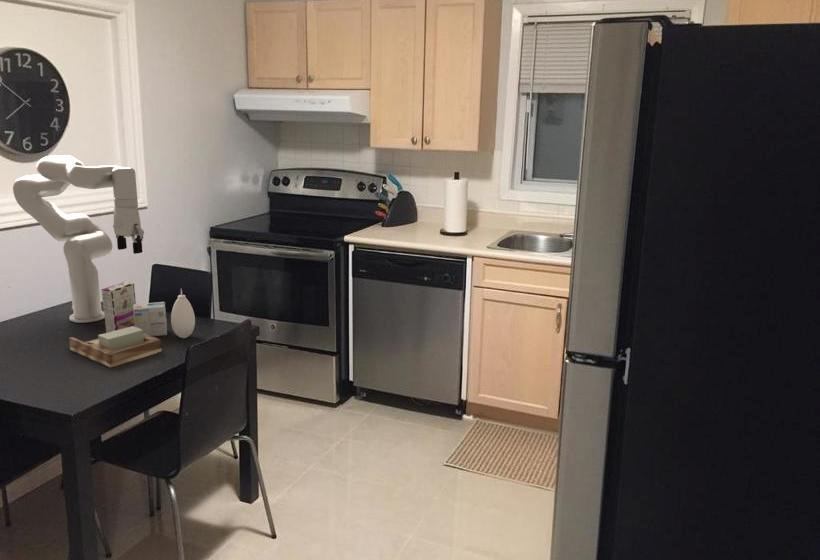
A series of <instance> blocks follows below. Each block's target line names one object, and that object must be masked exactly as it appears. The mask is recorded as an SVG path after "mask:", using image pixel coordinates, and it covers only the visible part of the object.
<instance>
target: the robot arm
mask: <svg viewBox="0 0 820 560" xmlns="http://www.w3.org/2000/svg"><path fill="white" fill-rule="evenodd" d="M36 170H37V172H38V174H31V175H24V176H22V177H19V178H17V179H16V180H15V181H14V183H13V186H12V191H13V192H12V193H13V195H14V196H13V197H14V198H15V201H16V203H17V204H18V205H19V206H20V207H21V210H22V209H23V211H24V212H26V213H27V214H28V215H29V216H31V217H32V218H33V219H34V220H35V221H36V222H37V223H38V224H39V225H40V226H41V227H42V228H43V229H44V230H45V232H47V233H48V234H49V235H50V236H51V237H52V238H53V239H55V240H56V241H57V242H64V244H63V253H64V257H65V260H66V263H67V267H68V274H69V282H70V284H69V285H70V292H71V301H72V302H71V303H72V305H71V309H72V310H73V313H72V314H70V315H69V316H68V317H69V321H70V322H73V323H79V324H80V323H81V324H86V323H94V322H98V321H101V320H105V316H104V310H102V302H101V292H100V281H99V271H98V268H97V267H96V265H95V264H94V263H93V261H92V260H95V259H99V258H102V257H105V256H107V255H109V254H110V253H111V252H112V250H113V242H112V240H111V238H110V236H109V235H108V233H106V232H105V230H103V228H101V227H100V226H99V224H97V222H95V221H94V220H93V219H92V217H90V216H88V215H87V214H85V213H80V212H76V213H70V214H69V213H67V214H66V213H64V212H63V211H61V209H59V208H58V207H57V206H56V205H55V204H54V203H52V202H50V201H49V200H46V199H44V198H47V197H55V196H59V195H61V194H62V193H63V192H65V191H66V190H67V188H68V187H69V186H70V185H72V186H73V187H76V188H81V189H88V190H98V189H105V188H112V190H113V201H114V202H113V203H114V208H113V225H112V227H113V232H114V234H115V238H116V243H117V245H116V246H117V250H127V248H128V247H127V238H129V237H131V239H132V241H133V242H132V252H133V255H134V254H135V255H136V254H142V253H143V241H144V240H143V239H144V233H145V231H144V230H143V228H142V225H141V218H140V213H139V212H140V211H139V208H138V207H139V202H138V191H137V190H138V189H137V188H138V187H137V175H136V170H135V168H133V167H125V166H119V165H112V164H111V165H110V164H109V165H98V166H85V165H84V163H83V162H82V161H80V160H78V159H77V158H75V157H74V156H71V155H69V154H68V155H67V154H66V155H65V154H63V155H62V154H61V155H48V156H44V157H42V158H41V159H39V161H38V162H37V164H36ZM126 237H127V238H126Z"/></svg>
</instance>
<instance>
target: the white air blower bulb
mask: <svg viewBox="0 0 820 560" xmlns="http://www.w3.org/2000/svg"><path fill="white" fill-rule="evenodd" d="M170 322H171V328H172V331H173V333H174V334H175V335H176V336H178V337H179V338H181V339H186V338H188V337H190V335H191V334H193V331H194V329H195V325H196V318H195V311H194V309H193V306H192V304H191V303H190V301H189V300H188V298H187V297H186V295H185V294H183V290H182V288H180V294H179V295H177V299H176V300H175V302H174V304H173V306H172V310H171V314H170Z"/></svg>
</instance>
